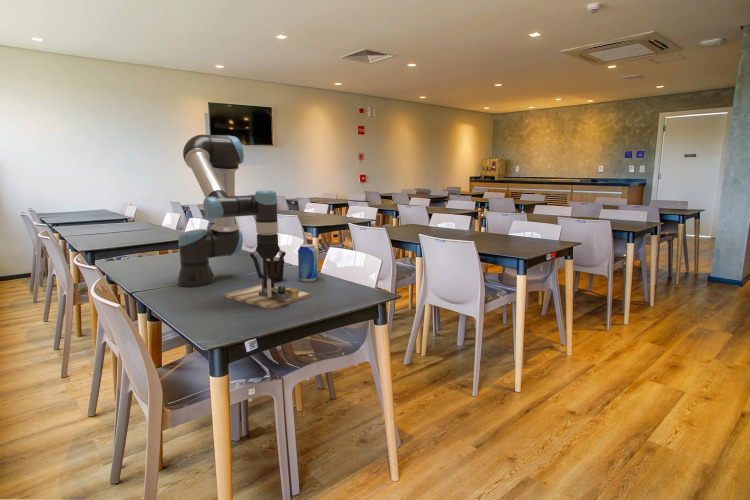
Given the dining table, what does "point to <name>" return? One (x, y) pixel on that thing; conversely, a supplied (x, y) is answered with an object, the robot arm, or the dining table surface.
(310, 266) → the beer can
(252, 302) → the door board
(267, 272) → the coffee mug
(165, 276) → the dining table surface
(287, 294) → the swing bar
